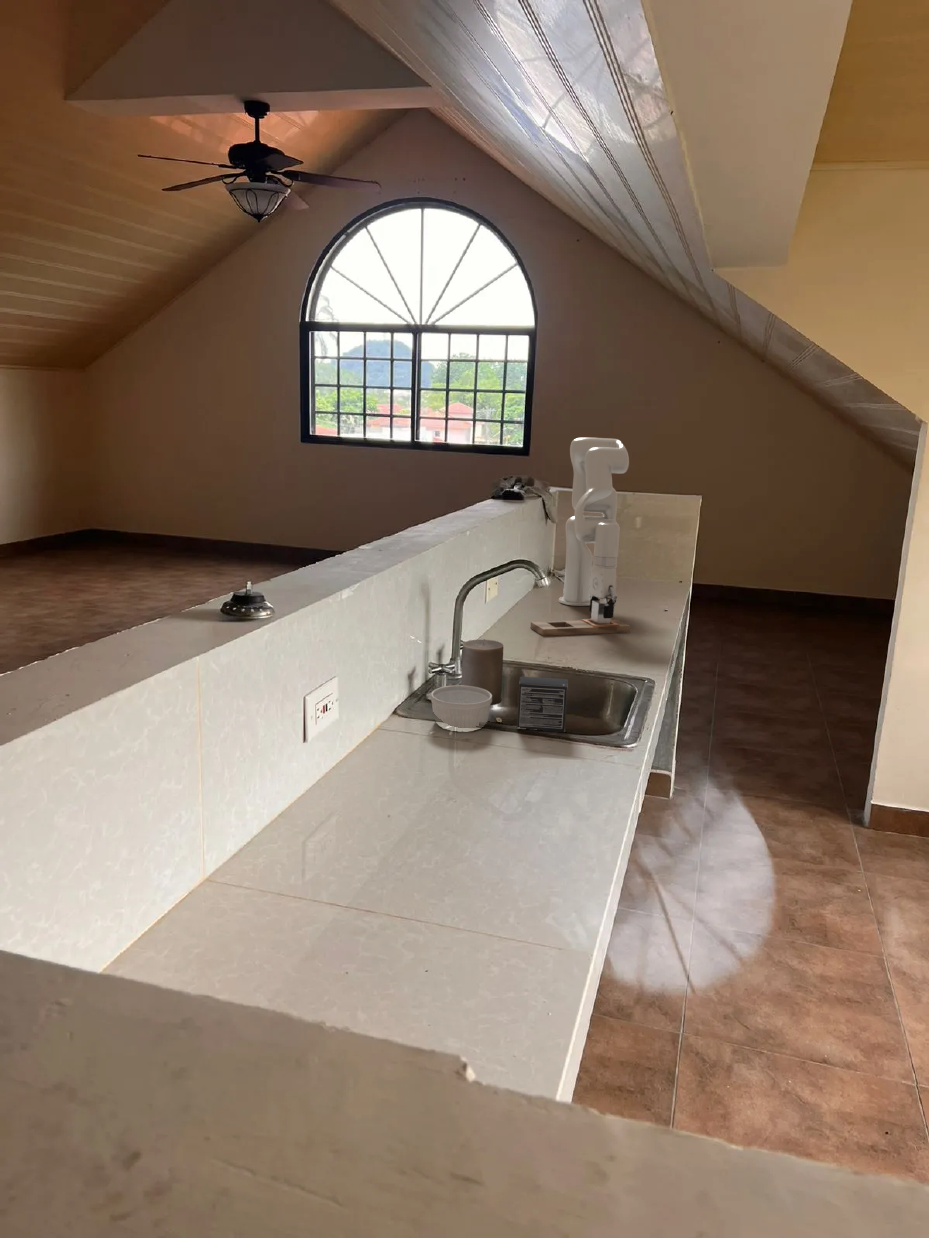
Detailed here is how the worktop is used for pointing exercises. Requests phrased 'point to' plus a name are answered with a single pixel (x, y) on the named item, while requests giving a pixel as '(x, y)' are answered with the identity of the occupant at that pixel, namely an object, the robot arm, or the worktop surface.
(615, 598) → the robot arm
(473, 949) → the worktop surface
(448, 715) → the ramekin
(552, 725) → the small box
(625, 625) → the tan flat board
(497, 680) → the pillar candle
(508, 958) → the worktop surface
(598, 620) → the grey square block
